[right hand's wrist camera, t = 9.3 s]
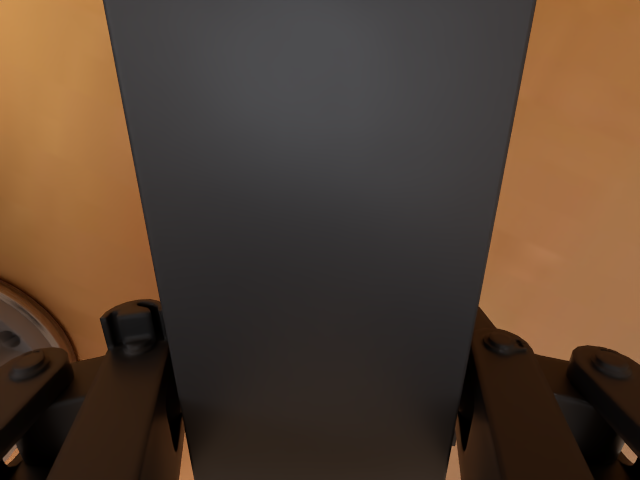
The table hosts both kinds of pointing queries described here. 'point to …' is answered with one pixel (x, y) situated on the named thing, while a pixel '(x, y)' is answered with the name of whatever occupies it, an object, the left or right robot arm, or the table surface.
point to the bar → (319, 218)
